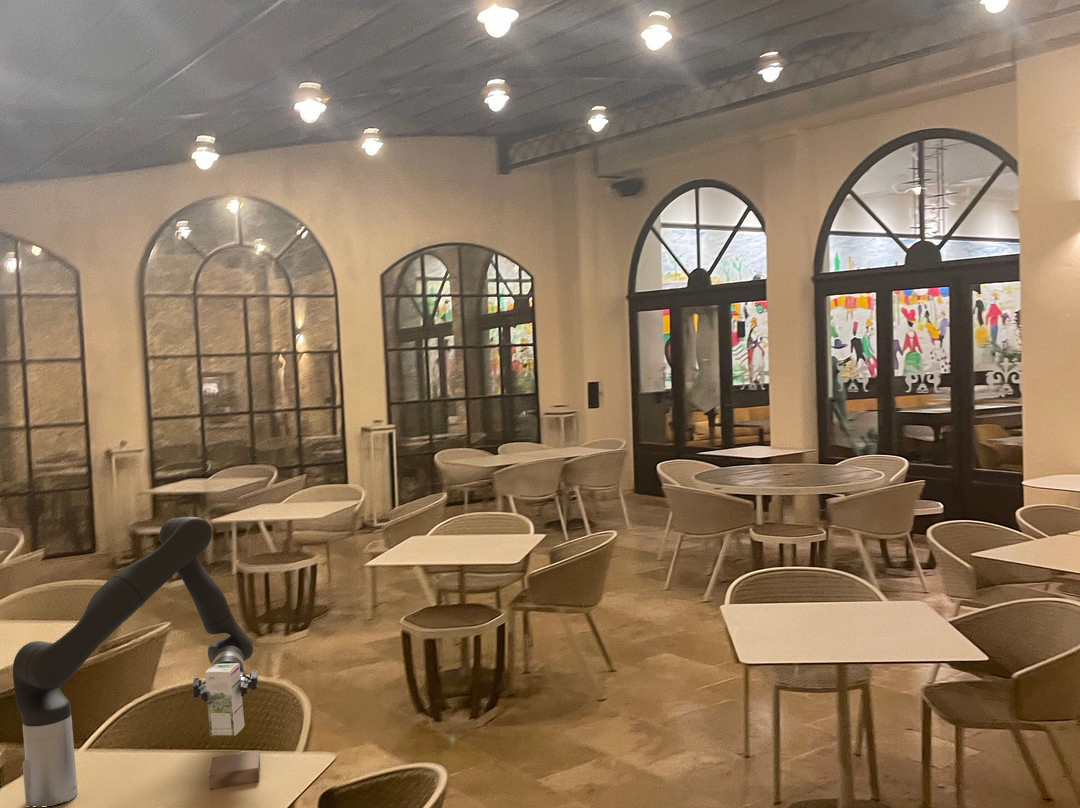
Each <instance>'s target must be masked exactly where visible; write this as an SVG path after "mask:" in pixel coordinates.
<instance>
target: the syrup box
mask: <svg viewBox="0 0 1080 808" xmlns="http://www.w3.org/2000/svg"><path fill="white" fill-rule="evenodd" d="M204 675H205V679H204V680H206V690H207V701H206V702H207V714H208V724H209V726H208V727H209V736H210V737H235V736H236V735H238V734H239V733H240V732H241V731H242V730H243V728H244V727H245V717H244V705H243V696H242V697H241V675H240V664H239V663H233V664H214V665H213V666H212V665H210V667H209V668H208V669H207V670H206V671H205V672H204Z"/></svg>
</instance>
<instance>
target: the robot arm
mask: <svg viewBox="0 0 1080 808" xmlns="http://www.w3.org/2000/svg"><path fill="white" fill-rule="evenodd" d="M212 537H213V530H212V526H211V524H210V523H209V522H208V521H207V520H206V519H204V518H202V517H197V516H184V517H183V516H182V517H174V518H170V519H168V520H167V521H165V522H164V524H163V525H162V526H161V528H160V531H159V542H160V544H161V545H160V546H159V547H157V548H156V549H155V550H154V551H152V552H151V553H149V554H147V555H146V556H144V557H142V558H140V559H138V560H137V561H135V562H133V563H131V564H129V565H127V566H126V567H124V568H122V569H121V570H119V571H118V572H117V573H115V574H114V575H113V576H112V577H111V578H109V579H108V580H107V581H106V582H105V583H104V584H103V585H101V587H99V588H98V589H97V590H96V592H95V593H93V595H92V597H91V598H90V599H89V601H88V604H87V606H86V608H85V610H84V613H83V614H82V616H81V618H80V619H79V620H78V622H77V623H76V624H75V625H74V626H73V627H72V628H70V630H69V631H67V632H66V633H65V634H64V635H63V636H61V637H59V638H58V639H57V640H56V641H54V642H47V641H41V640H37V641H30V642H28V643H26V644H25V645H23V646H22V647H20V649H19V650H18V651H17V652H16V654H15V656H14V660H13V663H12V678H13V679H12V680H13V688H14V695H15V703H16V707H17V711H18V712H19V714H20V716H21V720H22V721H21V723H22V735H23V748H24V760H23V762H22V772H23V786H24V796H25V797H24V799H25V807H26V806H36V807H42V806H51V805H56V804H60V803H63V802H65V803H67V802H69V801H71V800H73V799H74V798H75V797H76V796H77V795H78V780H77V770H76V757H75V747H74V746H75V745H74V732H73V730H74V729H73V720H72V719H73V718H72V706H71V701H70V700H69V699H68V698H67V697H66V695H64V693H63V691H62V690H61V686H63V685H64V684H65V683H67V682H68V681H69V680H70V679H71V678H72V677H73V676H74V675H75V673H76V672H77V671H78V670H80V668H81V666H83V664H84V663H85V662H86V661H87V660H88V659H89V657H90V656H91V655H92V654H93V653H94V652H95V651H96V650H97V648H98V647H99V646H100V645H101V644H103V642H105V641H106V640H107V639H108V638H110V636H111V635H112V634H114V632H116V630H117V629H118V628H120V626H122V624H124V622H126V621H127V620H128V619H129V618H131V617H132V616H133V615H134V614H135V613H136V612H137V611H138V610H139V609H140V608H141V607H142V606H143V605H144V604H145V603H146V602H147V601H148V600H149V599H150V598H151V597H152V596H153V595H154V594H155V593H156V592H158V591H159V589H161V588H162V587H163V585H165V584H166V583H167V582H168V581H169V580H170V579H171V578H172V577H173V576H174V575H175V574H176V573H178V575H179V577H180V578H181V580H182V582H183V584H184V585H185V588H186V589H187V591H188V593H189V595H190V596H191V599H192V600H193V603H194V606H195V607H196V611H197V612H198V615H199V618H200V621H201V623H202V625H203V627H204V630H205V632H206V633H207V634H208V635H217V634H218V635H219V634H228V636H226V637H224V638H221V639H218V640H216V641H214V642H212V643H211V644H210V645H209V647H208V649H207V658H208V660H209V662H210V664H211V666H213V665H214V664H233V663H239V664H240V675H241V697H242V698H243V697H246V696H245V695H247V694H248V693H249V691H250V690H256V689H257V688H258V685H259V676H258V670H256V669H254V670H252V671H251V672H249V674H246V673H245V671H246V669H245V668H246V667H245V661H246V660H249V659H250V658H251V657H252V655H253V653H254V645H253V643H252V640H251V639H250V637H249V636H248V635H247V634H246V633H245V631H244V630H243V629H242V627H241V626H240V625H239V624H238V622H237V621H236V620H235V618H234V615H233V613H232V611H231V608H230V605H229V603H228V601H227V598H226V597H225V596H226V595H225V594H224V592H223V591H222V589H221V588H220V586H219V585H218V584H217V583H216V581H215V580H214V579H213V578H212V576H210V574H209V573H208V572H207V570H206V569H205V567H204V565H203V564H202V562H201V560H200V557H199V556H200V554H202V553H203V552H204V551H205V550H206V549H207V548H208V546H210V543H211V541H212ZM192 680H193V682H192V693H193V698H199V697H200V700H201V701H202V700H203V702H204V703H205V702H207V690H206V679H204V680H202V679H200V678H199V677H195V678H193V679H192ZM249 689H250V690H249ZM66 801H67V802H66ZM63 804H64V803H63ZM60 805H61V804H60ZM56 806H57V805H56Z"/></svg>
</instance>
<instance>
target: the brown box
mask: <svg viewBox="0 0 1080 808" xmlns="http://www.w3.org/2000/svg"><path fill="white" fill-rule="evenodd" d="M260 756H261V754H260V749H259V750H253V751H246V752H238V753H232V754H226V755H221V756H212V757H211V762H210V766H209V767H210V768H209V772H208V773H209V774H208V782H209V790H212V789H211V788H215V789H219V788H218V787H221V788H226V787H225V786H227V787H232V786H231V785H234V786H238V785H237V784H240V785H244V784H243V783H246V784H250V783H249V782H253V783H255V782H254V781H259V782H260V774H259V772H260V770H261V757H260Z"/></svg>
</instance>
